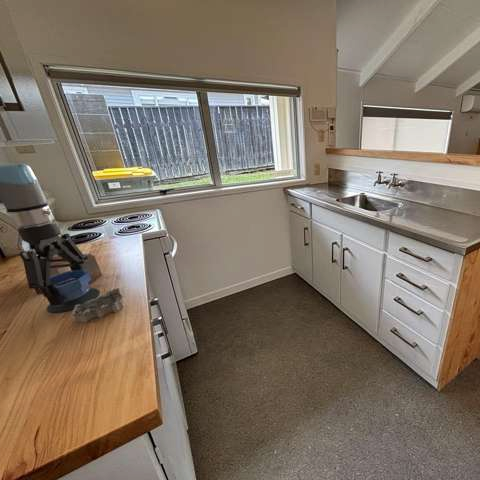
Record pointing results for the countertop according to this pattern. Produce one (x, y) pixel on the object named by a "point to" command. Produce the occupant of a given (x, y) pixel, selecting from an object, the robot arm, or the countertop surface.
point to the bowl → (71, 284)
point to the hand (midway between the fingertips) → (71, 293)
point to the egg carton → (99, 306)
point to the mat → (74, 302)
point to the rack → (88, 266)
